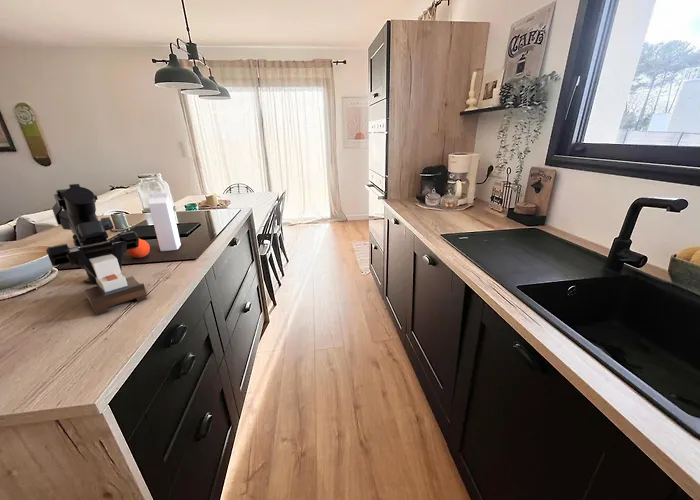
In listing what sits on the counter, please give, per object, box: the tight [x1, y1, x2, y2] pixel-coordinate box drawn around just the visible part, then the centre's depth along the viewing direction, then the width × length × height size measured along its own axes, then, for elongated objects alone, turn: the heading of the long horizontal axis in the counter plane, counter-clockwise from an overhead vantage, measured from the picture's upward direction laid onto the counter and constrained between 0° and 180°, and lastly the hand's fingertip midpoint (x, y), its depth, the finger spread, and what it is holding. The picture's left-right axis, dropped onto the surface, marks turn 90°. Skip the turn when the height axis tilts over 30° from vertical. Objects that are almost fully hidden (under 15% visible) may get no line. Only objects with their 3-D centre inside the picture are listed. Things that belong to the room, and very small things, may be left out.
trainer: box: [89, 254, 129, 295], centre depth 76 cm, size 10×5×8 cm, turn 50°
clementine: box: [126, 237, 151, 259], centre depth 106 cm, size 8×7×7 cm
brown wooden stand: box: [83, 275, 148, 316], centre depth 77 cm, size 12×11×4 cm
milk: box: [148, 192, 182, 252], centre depth 111 cm, size 6×6×22 cm
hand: (108, 273), depth 76 cm, fingers closed on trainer, 5 cm apart
